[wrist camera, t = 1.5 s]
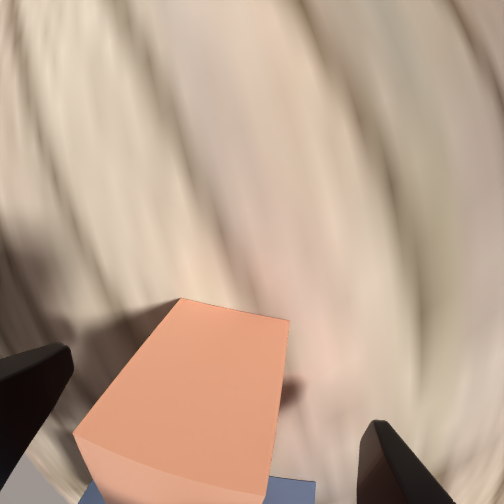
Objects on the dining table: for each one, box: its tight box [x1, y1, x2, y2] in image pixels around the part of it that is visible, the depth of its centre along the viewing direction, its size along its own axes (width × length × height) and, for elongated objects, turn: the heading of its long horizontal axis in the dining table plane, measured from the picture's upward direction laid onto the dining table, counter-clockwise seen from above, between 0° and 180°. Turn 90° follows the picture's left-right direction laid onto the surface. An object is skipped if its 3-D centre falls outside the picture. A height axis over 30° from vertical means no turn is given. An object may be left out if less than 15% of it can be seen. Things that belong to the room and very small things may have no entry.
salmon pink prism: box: [73, 298, 290, 504], centre depth 9 cm, size 13×4×6 cm, turn 172°
